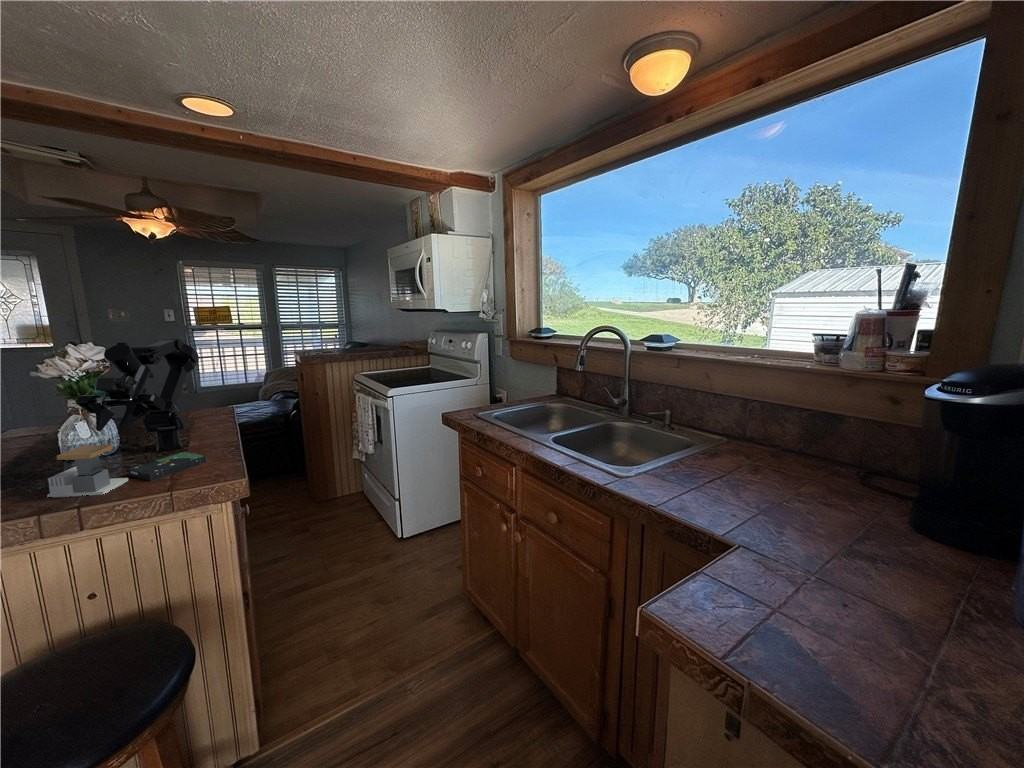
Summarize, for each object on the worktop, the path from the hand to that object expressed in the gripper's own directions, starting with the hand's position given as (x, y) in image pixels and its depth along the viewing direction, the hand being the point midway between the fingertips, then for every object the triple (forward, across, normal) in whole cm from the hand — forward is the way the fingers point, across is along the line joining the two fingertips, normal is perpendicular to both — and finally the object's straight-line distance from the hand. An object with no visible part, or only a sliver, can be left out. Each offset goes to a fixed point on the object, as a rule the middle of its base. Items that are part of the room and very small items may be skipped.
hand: (109, 430), depth 110 cm
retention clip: (+12, 0, 0) cm, 12 cm away
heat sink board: (+14, -2, +5) cm, 15 cm away
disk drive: (+6, +10, +14) cm, 18 cm away
